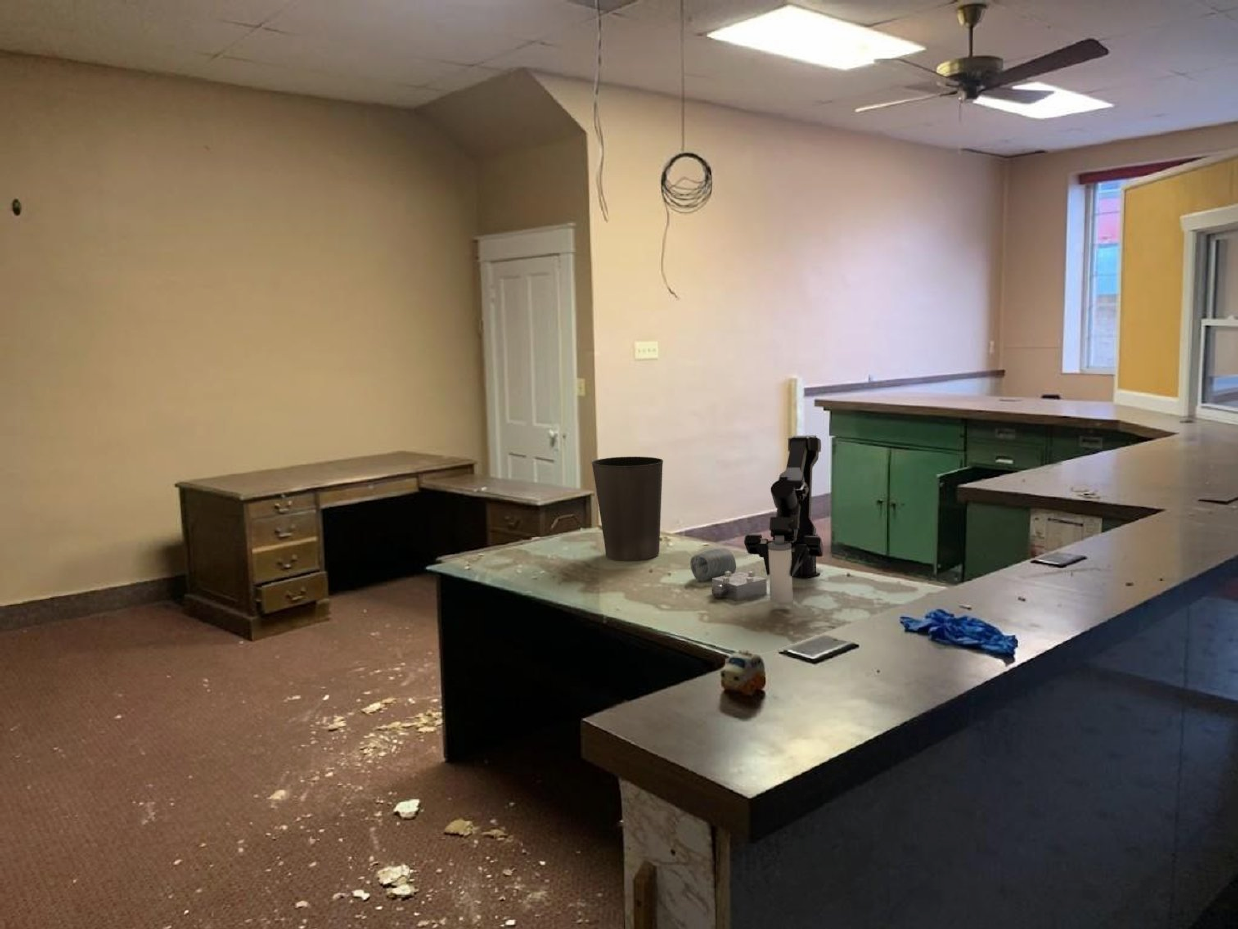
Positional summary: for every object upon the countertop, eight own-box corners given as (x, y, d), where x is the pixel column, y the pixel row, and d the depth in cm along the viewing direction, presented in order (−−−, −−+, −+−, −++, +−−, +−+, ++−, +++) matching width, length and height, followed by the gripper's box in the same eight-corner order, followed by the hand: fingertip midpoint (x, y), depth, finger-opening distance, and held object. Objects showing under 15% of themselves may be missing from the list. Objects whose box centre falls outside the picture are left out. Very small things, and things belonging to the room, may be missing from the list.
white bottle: (782, 595, 229) (780, 532, 227) (797, 600, 225) (795, 535, 223) (765, 599, 227) (763, 536, 224) (780, 604, 222) (778, 539, 220)
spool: (702, 575, 249) (699, 540, 253) (685, 584, 257) (682, 550, 261) (745, 579, 255) (741, 545, 259) (726, 588, 262) (723, 555, 266)
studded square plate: (741, 586, 248) (741, 568, 248) (766, 593, 240) (766, 575, 239) (703, 595, 241) (702, 576, 241) (727, 603, 233) (727, 584, 232)
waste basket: (582, 553, 298) (577, 460, 294) (636, 543, 308) (631, 453, 304) (627, 568, 275) (621, 468, 271) (683, 557, 285) (678, 460, 281)
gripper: (744, 502, 229) (735, 556, 221) (820, 503, 223) (813, 559, 214) (752, 526, 238) (744, 579, 229) (826, 528, 231) (820, 583, 222)
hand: (779, 575), depth 223 cm, fingers closed on white bottle, 5 cm apart
